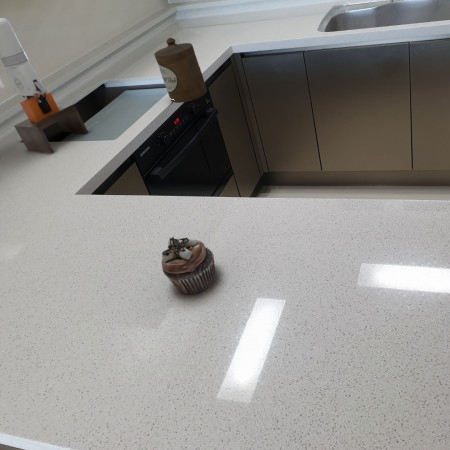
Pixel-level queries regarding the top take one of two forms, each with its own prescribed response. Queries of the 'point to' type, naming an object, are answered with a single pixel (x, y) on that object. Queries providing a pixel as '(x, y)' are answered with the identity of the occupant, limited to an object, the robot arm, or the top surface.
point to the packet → (38, 108)
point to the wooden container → (180, 71)
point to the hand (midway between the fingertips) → (42, 111)
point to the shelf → (34, 130)
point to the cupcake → (189, 265)
